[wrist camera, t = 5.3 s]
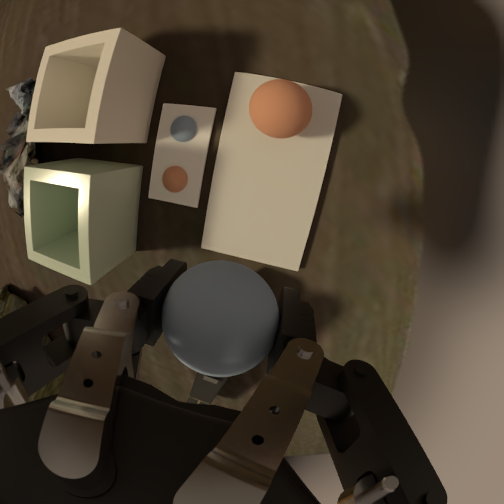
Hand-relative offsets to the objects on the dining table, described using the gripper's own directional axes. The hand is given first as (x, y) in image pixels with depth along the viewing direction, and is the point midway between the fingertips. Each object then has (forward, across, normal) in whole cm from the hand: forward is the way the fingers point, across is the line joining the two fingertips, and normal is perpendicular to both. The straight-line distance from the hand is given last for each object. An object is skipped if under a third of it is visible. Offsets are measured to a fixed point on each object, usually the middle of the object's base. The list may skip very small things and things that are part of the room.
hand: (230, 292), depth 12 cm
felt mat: (+13, 0, -5) cm, 13 cm away
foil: (+13, +27, -5) cm, 30 cm away
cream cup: (+13, +16, -10) cm, 23 cm away
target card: (+13, +8, -5) cm, 16 cm away
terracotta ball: (+10, 0, -10) cm, 14 cm away
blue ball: (-2, 0, 0) cm, 2 cm away
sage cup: (+13, +16, +1) cm, 20 cm away
